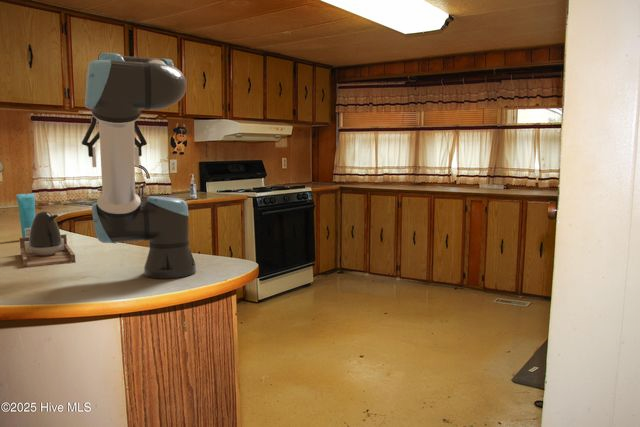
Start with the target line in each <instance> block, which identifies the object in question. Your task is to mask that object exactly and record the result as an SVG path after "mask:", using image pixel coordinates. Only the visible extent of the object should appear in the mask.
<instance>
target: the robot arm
mask: <svg viewBox="0 0 640 427" xmlns="http://www.w3.org/2000/svg"><path fill="white" fill-rule="evenodd" d="M174 65H175V64H174V62H173V60H172V59H169V58H163V57H161V58H157V57H138V56H126V55H122V54H119V53H114V52H103V53H100V54H99V56H98V59H95V60H91V61H90V62H89V63H88V65H87V71H86V80H85V82H86V83H85V96H84V97H85V98H84V107H85V109H89V110H91V115H92V116H91V118H90V124H89V126H88V129H87V131H86V132H85V134H84V136H83V138H82V141H81V145H83V146H85V147H87V153H88V158H91V163H92V166H91V167H92V168H97V154H96V152H97V151H96V146H94V145H95V143H97V142H98V141H99V148H100V149H99V151H100V167H101V168H100V170H101V172H100V173H101V189H102V191H101V192H102V194H100V195H99V196H98V197H97V199H96V202H95V203H93V204H92V205H91V213H92V219H93V226H94V227H93V228H94V231H95V235H96V238H97V240H98V241H99V242H101V243H103V244H117V243H129V242H130V243H131V242H143V241H146V242H147V241H149V242H148V243H149V244H148V245H149V248H148V250H149V251H148V252H147V257H146V259H145V264H144V267H143V271H144V272H143V273H144V276H145V277H148V278H152V279H177V278H184V277H188V276H191V275H193V274H195V273H196V272H197V267H196V266H197V265H196V262H195V259H194V256H193V254H192V251H191V248H190V233H189V232H190V230H189V216H190V215H189V214H190V213H189V207H188V203H187V202H186V200H184V199H180V198H176V197H170V196H169V197H168V196H157V195H156V196H153V195H152V196H151V195H150V196H148V197H147V198H146V201H141V198H140V196H139V195H138V194H137V193H136V167H137V168H138V167H140V157H142V154H143V153H142V151H143V150H142V147H145V146H146V145H148V142H147V140H146V139H145V137H144V135H143V132H142V131H141V130H140V128H139V126H138V124H137V121H138V120H139V119H140V118H141V116H142V115H141V113H142V111H157V110H163V109H166V108H169V107H171V106H174V105H175V104H177V103H178V102H180V101H181V100H182V98H183V97H184V96H185V95H186V94H185V93H186V92H187V85H188V84H187V79H186V77H185V75H184V74H183V72H182V71H181V70H180V69H178V68H177V67H176V66H174ZM97 124H98V129H99V130H98V132H97V133H96V134H95V135H94V136H93V138H92V139H91V140H90V138H91V135H92V133H93V132H94V130H95V127H96V125H97ZM135 135H136V136H137V138H138V139H137V138H136V137H135ZM88 141H89V142H88ZM135 146H136V147H135Z"/></svg>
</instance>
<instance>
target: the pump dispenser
mask: <svg viewBox="0 0 640 427" xmlns="http://www.w3.org/2000/svg"><path fill="white" fill-rule="evenodd" d="M58 217H59V216H58V214H53V215H52V214H51V213H50V212H48V211H44V210H43V211H39V212H38V213H37V214H35V218H34V220H33V222H32V225H31V229H30V234H29V246H30V248H31V250H32V252H33V253H35V254H36V255H39V256H49V255H53V254H55V253H57V252H58V251H59V249H60V247H61V244H62V239H61V235H62V234H61V231H60V228H59V226H58V225H59V224H58V222H57V221H56V219H57V218H58Z"/></svg>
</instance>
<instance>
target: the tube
mask: <svg viewBox="0 0 640 427" xmlns="http://www.w3.org/2000/svg"><path fill="white" fill-rule="evenodd" d="M15 195H16V200H17V206H18V208H17V209H18V213H19V221H20V222H19V223H20V229H21V236H22V237H21V238H26V237H29V234H30V229H31V225H32V222H33V220H34V218H35V216H36V207H35V206H36V193H35V192H34V193H18V194H15Z"/></svg>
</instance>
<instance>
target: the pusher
mask: <svg viewBox="0 0 640 427" xmlns="http://www.w3.org/2000/svg"><path fill="white" fill-rule="evenodd" d="M59 250H64V239H62V244H61V247H60V249H59ZM25 253H33V252H32V250H31V248H30V246H29V241H27V242H25Z"/></svg>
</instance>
